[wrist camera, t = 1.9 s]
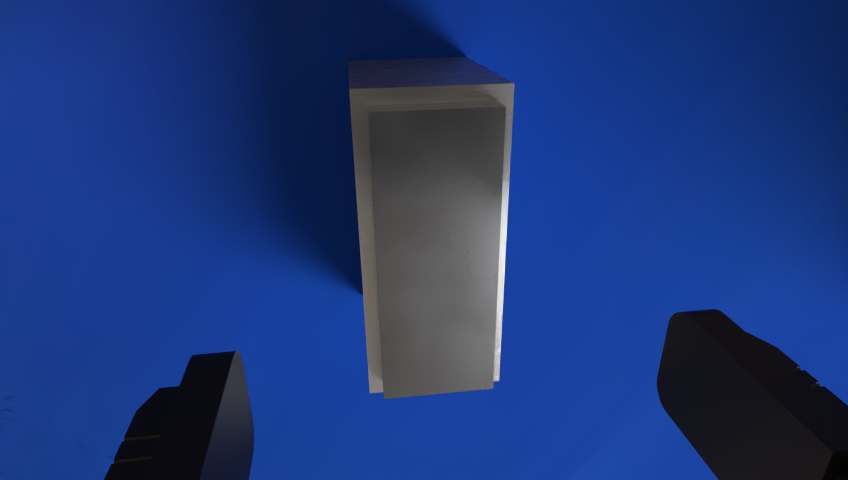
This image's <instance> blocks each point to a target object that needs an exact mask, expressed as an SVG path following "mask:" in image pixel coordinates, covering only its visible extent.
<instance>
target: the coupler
mask: <svg viewBox="0 0 848 480" xmlns="http://www.w3.org/2000/svg"><path fill="white" fill-rule="evenodd" d="M348 72H349V94H350V108H351V123H352V138H353V152H354V167H355V182H356V196H357V211H358V226H359V240H360V255H361V270H362V284H363V299H364V314H365V328H366V343H367V358H368V372H369V387H370V393H377V392H384V399H390V398H400V397H411V396H421V395H431V394H441V393H452V392H462V391H472V390H482V389H493V381H499V370H500V351H501V331H502V312H503V293H504V273H505V254H506V235H507V215H508V196H509V177H510V157H511V138H512V119H513V99H514V83H513V82H511V81H509V80H507V79H506V78H504V77H502V76H500V75H498V74H497V73H495V72H493V71H491V70H489V69H488V68H486V67H484V66H482V65H480V64H479V63H477V62H475V61H473V60H471V59H470V58H468V57H442V58H408V59H374V60H348Z"/></svg>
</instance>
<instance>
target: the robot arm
mask: <svg viewBox="0 0 848 480" xmlns="http://www.w3.org/2000/svg"><path fill="white" fill-rule="evenodd" d="M657 389H658V394H659V398H660V401H661V403H662V406H663V407H664V409H665V411H666V412H667V414H668V415H669V416H670V417H671V419H672V420H673V421H674V423H675V424H676V425H677V426H678V428H679V429H680V430H681V432H682V433H683V434H684V436H685V437H686V438H687V439H688V441H689V442H690V443H691V445H692V446H693V447H694V448H695V450H696V451H697V452H698V454H699V455H700V456H701V457H702V459H703V460H704V461H705V463H706V464H707V465H708V466H709V468H710V469H711V470H712V472H713V473H714V474H715V476H716V477H717V478H718V479H719V480H848V406H847V405H846V404H845V403H844V402H843V401H841V400H840V399H839V398H838V397H837V396H835V395H834V394H833V393H832V392H830V391H829V390H828V389H827V388H826V387H824V386H823V387H820V385H819V382H818V381H817V380H816V379H815V378H813V377H812V376H811V375H810V374H809V373H807V372H806V371H805V370H802V371H801V370H800V366H799V365H798V364H796V363H795V362H794V361H793V360H791V359H790V358H789V357H788V356H787V355H785V354H784V353H783V352H782V351H780V350H779V349H778V348H777V347H775V346H773V345H771V344H769V343H767V342H765V341H763V340H761V339H759V338H757V337H755V336H753V335H751V334H749V333H746V332H745V331H744V330H743V329H741V328H740V327H739V326H738V325H737V324H736V323H734V322H733V321H732V320H731V319H730V318H728V317H727V316H726V315H725V314H724V313H722V312H721V311H719V310H716V309H710V310H699V311H688V312H677V313H675V314H674V315H672V317H671V318H670V320H669V324H668V328H667V333H666V338H665V343H664V348H663V352H662V357H661V362H660V367H659V372H658V377H657ZM124 438H125V440H124V442H122V443H121V445H120V447H119V449H118V451H117V453H116V456H115V458H114V464H111V466H110V468H109V471H108V473H107V475H106V477H105V479H104V480H249V474H250V469H251V463H252V457H253V447H254V429H253V419H252V413H251V407H250V402H249V396H248V391H247V385H246V380H245V374H244V368H243V363H242V358H241V355H240V353H239V352H238V351H232V352H221V353H209V354H198V355H193V356H192V357H191V358H190V360H189V363H188V365H187V368H186V370H185V373H184V376H183V378H182V381H181V383H180V386H177V387H166V388H159V389H158V390H157V391H156V392H155V393H154V394H153V395H152V396H151V397H150V398H149V399H148V400H147V401H146V402H145V403H144V404H143V405H142V406H141V407H140V408H139V409H138V410H137V411H136V413H135V415H134V417H133V419H132V422H131V424H130V426H129V428H128V430H127V432H126V434H125V436H124Z"/></svg>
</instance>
